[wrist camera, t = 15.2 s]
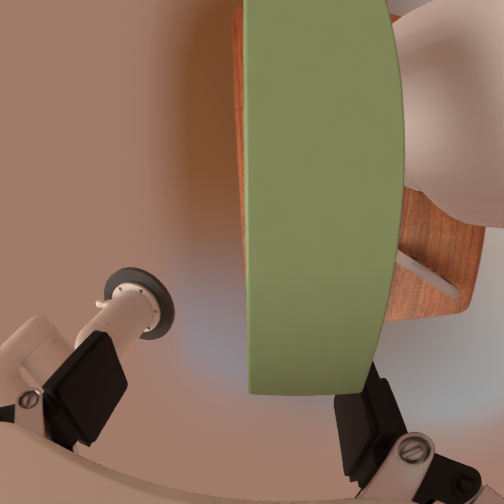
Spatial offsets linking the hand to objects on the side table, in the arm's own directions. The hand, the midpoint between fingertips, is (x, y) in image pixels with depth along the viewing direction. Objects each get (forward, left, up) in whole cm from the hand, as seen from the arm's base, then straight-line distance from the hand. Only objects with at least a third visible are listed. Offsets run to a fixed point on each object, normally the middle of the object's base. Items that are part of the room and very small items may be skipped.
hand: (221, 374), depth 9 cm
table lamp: (+24, +16, -40) cm, 49 cm away
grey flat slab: (+31, -10, -40) cm, 51 cm away
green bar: (+3, +10, -1) cm, 10 cm away
